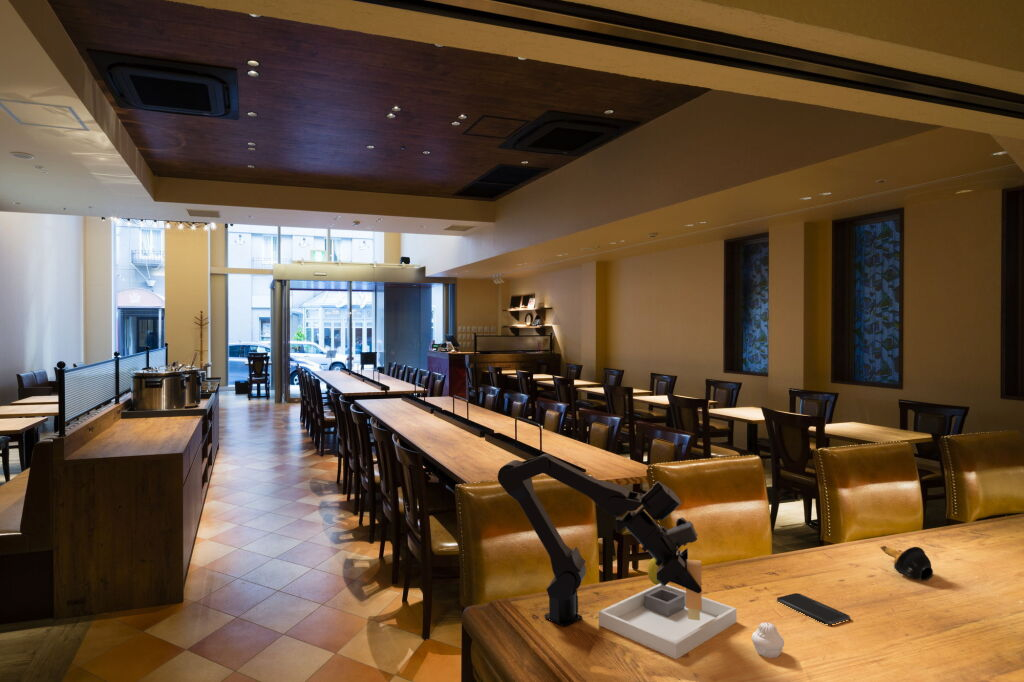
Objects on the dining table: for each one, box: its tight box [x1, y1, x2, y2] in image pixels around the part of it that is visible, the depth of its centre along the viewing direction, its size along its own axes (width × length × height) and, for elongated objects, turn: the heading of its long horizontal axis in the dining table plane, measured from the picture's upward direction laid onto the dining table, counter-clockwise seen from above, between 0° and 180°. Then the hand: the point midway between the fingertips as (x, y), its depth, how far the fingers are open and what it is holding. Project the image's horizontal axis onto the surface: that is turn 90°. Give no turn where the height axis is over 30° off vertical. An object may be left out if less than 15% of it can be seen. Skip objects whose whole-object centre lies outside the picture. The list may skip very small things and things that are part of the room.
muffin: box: [751, 622, 785, 659], centre depth 122 cm, size 6×6×7 cm
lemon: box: [647, 557, 663, 585], centre depth 158 cm, size 6×6×8 cm
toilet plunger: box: [879, 545, 934, 582], centre depth 167 cm, size 9×11×18 cm
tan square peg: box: [685, 558, 703, 620], centre depth 131 cm, size 3×3×12 cm
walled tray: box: [598, 584, 738, 660], centre depth 135 cm, size 24×20×4 cm
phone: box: [776, 592, 851, 625], centre depth 144 cm, size 8×1×15 cm
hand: (700, 588), depth 131 cm, fingers closed on tan square peg, 3 cm apart
